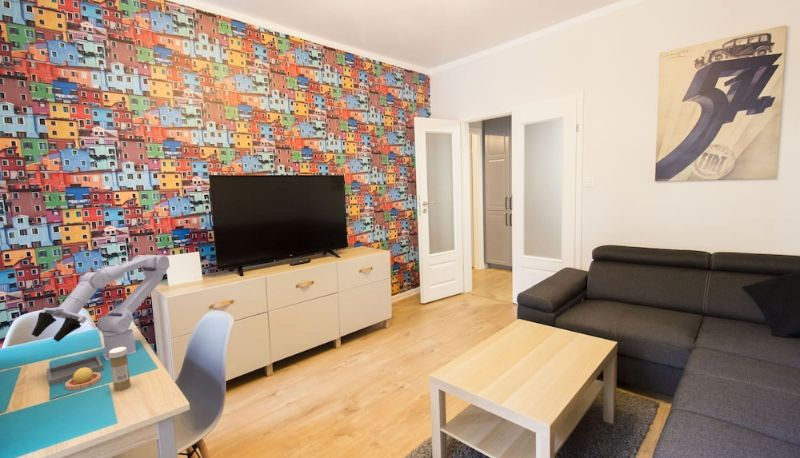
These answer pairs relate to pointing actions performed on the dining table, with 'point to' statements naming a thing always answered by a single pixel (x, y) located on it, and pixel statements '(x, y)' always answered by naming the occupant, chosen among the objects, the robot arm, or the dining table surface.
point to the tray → (72, 369)
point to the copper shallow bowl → (75, 386)
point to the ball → (82, 375)
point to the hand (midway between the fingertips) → (45, 337)
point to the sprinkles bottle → (119, 368)
